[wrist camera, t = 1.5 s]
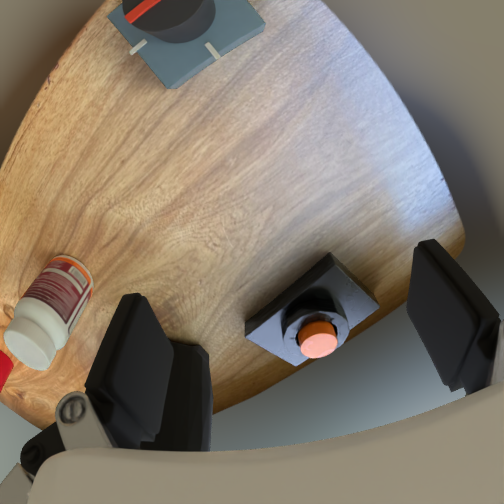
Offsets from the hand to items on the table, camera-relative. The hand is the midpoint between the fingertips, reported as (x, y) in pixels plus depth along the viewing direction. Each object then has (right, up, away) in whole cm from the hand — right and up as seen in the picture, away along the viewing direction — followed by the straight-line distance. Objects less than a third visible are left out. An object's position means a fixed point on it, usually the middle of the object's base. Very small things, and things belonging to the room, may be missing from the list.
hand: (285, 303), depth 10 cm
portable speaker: (-10, -11, +26) cm, 30 cm away
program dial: (-6, +17, +5) cm, 19 cm away
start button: (+5, -6, +19) cm, 20 cm away
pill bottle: (-21, -1, +19) cm, 28 cm away
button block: (+5, -4, +22) cm, 23 cm away
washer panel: (-6, +19, +7) cm, 21 cm away
